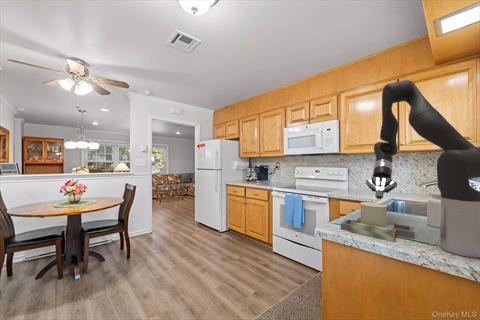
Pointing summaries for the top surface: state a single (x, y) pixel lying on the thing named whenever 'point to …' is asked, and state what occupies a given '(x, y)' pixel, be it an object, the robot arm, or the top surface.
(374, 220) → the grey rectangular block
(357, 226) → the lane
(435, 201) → the pill bottle
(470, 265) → the top surface
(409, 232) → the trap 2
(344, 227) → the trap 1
